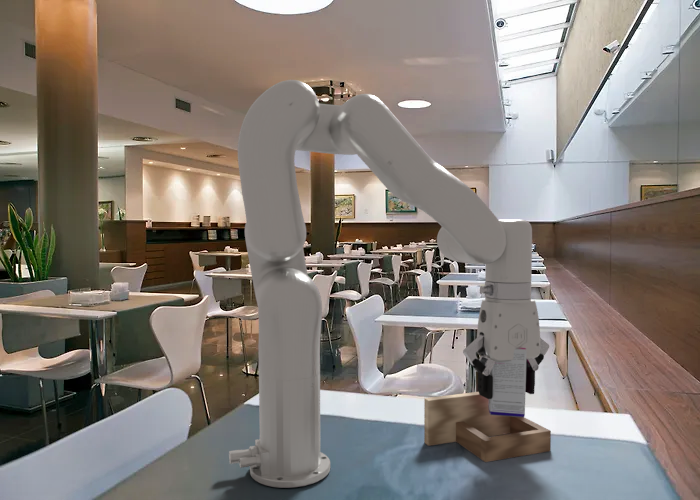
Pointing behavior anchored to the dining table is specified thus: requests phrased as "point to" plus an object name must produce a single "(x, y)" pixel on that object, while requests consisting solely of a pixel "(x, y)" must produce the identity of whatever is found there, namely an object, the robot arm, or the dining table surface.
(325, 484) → the dining table surface
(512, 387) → the supplement box
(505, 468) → the dining table surface
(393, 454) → the dining table surface
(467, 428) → the wooden tray holder
